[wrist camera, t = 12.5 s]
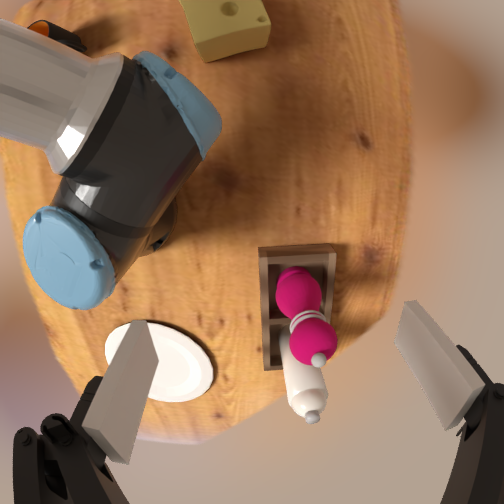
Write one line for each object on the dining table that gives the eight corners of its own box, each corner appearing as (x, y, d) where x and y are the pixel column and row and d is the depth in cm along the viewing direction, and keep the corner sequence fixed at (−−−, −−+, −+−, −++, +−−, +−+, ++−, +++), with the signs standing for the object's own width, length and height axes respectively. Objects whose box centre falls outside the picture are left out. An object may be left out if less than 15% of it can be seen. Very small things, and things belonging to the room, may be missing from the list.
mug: (88, 74, 34) (55, 64, 24) (42, 74, 32) (7, 68, 23) (104, 32, 31) (74, 14, 22) (55, 35, 30) (24, 23, 20)
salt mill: (278, 347, 53) (290, 432, 35) (278, 323, 51) (292, 411, 32) (308, 344, 53) (330, 427, 35) (310, 320, 51) (337, 405, 32)
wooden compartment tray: (320, 351, 56) (324, 364, 52) (262, 356, 56) (264, 370, 52) (329, 243, 47) (336, 252, 43) (258, 247, 47) (259, 257, 43)
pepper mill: (322, 285, 48) (360, 365, 30) (288, 307, 50) (308, 393, 31) (300, 255, 46) (334, 330, 27) (264, 279, 47) (276, 363, 29)
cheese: (249, -1, 31) (251, -32, 21) (269, 50, 35) (275, 27, 25) (186, 15, 32) (173, -12, 22) (202, 67, 36) (191, 48, 26)
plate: (92, 316, 52) (89, 320, 50) (205, 317, 52) (204, 322, 50) (126, 393, 61) (124, 398, 60) (220, 399, 61) (220, 404, 60)
